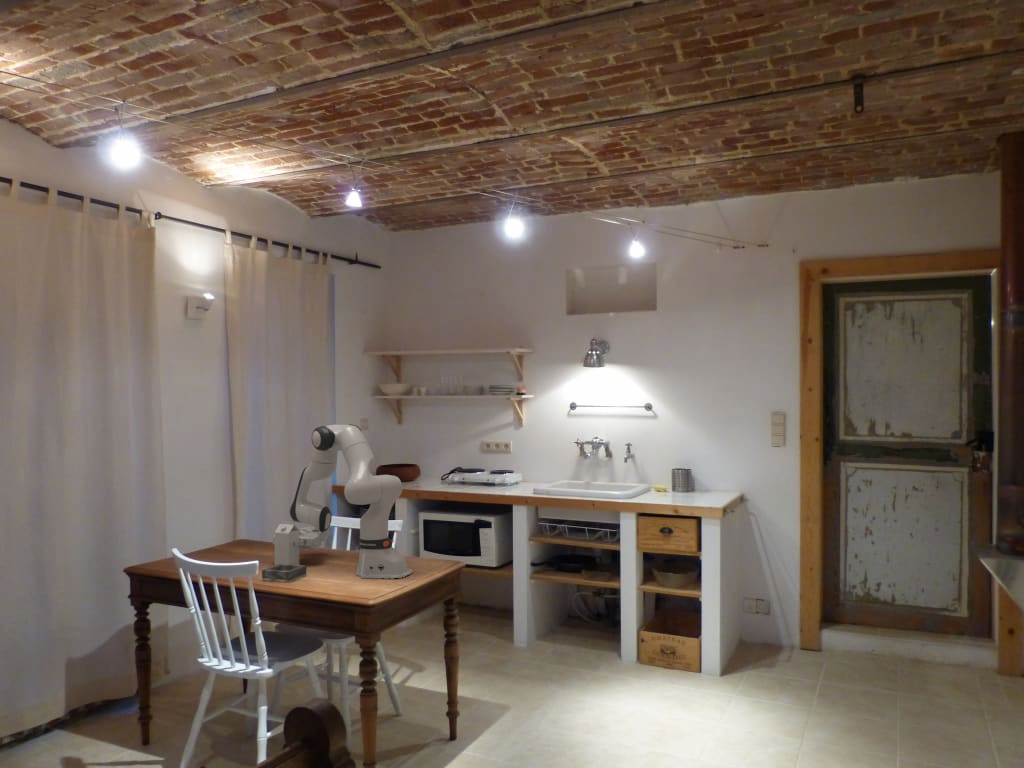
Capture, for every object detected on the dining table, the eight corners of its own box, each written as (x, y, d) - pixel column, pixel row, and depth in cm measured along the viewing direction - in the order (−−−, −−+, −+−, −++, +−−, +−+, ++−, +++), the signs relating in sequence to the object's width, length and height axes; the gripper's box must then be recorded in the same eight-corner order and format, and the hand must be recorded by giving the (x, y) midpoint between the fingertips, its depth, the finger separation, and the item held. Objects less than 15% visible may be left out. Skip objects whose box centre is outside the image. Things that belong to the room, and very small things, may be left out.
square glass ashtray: (306, 575, 302) (306, 565, 303) (289, 582, 291) (289, 572, 291) (280, 573, 306) (280, 563, 306) (262, 580, 294) (262, 570, 294)
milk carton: (285, 565, 322) (285, 519, 323) (299, 566, 320) (299, 520, 320) (274, 568, 315) (274, 522, 316) (288, 569, 313) (288, 523, 313)
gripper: (283, 529, 333) (264, 534, 320) (324, 531, 327) (307, 537, 314) (283, 543, 333) (264, 549, 320) (324, 546, 327) (307, 552, 314)
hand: (285, 543), depth 317 cm, fingers closed on milk carton, 7 cm apart
